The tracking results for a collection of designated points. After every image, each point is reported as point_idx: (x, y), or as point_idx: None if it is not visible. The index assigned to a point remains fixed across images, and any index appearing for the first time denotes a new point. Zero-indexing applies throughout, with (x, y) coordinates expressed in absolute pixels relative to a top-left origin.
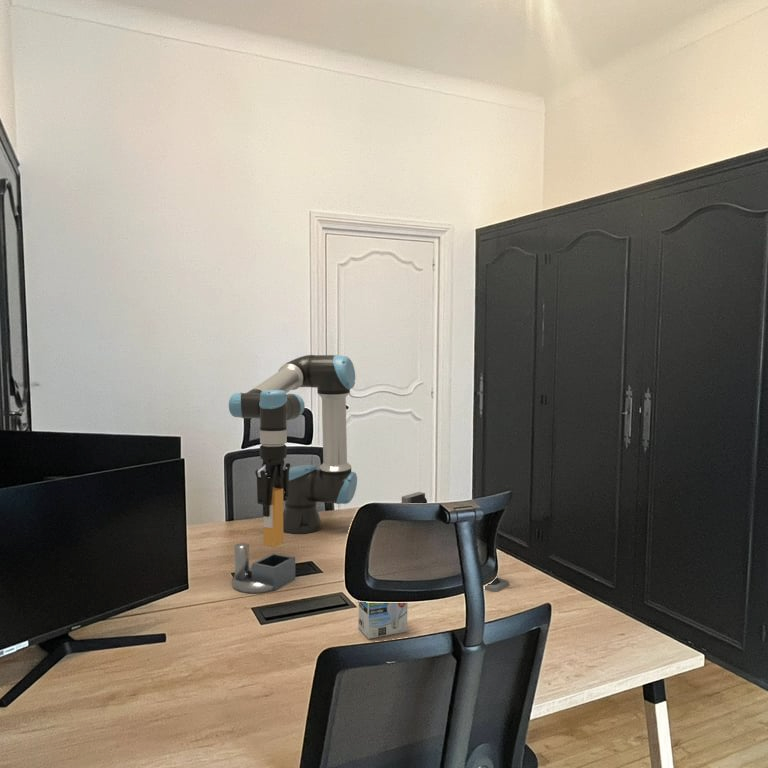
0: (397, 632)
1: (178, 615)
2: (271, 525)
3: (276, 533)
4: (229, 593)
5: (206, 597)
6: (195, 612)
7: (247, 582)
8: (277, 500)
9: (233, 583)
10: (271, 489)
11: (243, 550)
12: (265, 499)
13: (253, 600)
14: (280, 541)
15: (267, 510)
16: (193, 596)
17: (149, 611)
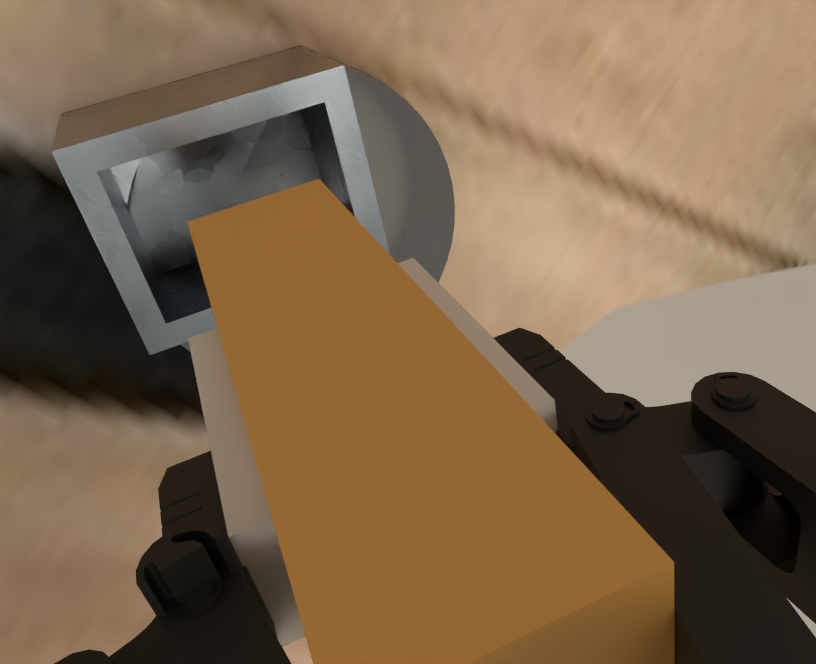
0: None
1: (751, 148)
2: (421, 270)
3: (327, 227)
4: (486, 208)
5: (576, 240)
6: (703, 122)
7: (391, 220)
8: (467, 454)
9: (444, 262)
10: (742, 634)
11: None
12: (784, 426)
13: (469, 26)
14: (236, 217)
15: (565, 371)
16: (598, 288)
17: (767, 263)
